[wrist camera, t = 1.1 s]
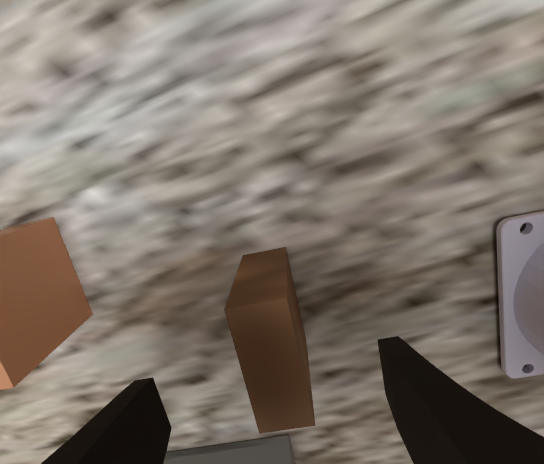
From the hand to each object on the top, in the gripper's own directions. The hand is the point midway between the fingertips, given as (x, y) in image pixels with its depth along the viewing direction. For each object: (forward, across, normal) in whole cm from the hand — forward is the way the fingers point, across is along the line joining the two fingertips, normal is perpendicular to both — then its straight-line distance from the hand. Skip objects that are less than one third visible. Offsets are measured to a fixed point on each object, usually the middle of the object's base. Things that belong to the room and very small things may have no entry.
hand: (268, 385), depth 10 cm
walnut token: (+6, 0, 0) cm, 6 cm away
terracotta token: (+6, +10, -4) cm, 12 cm away
